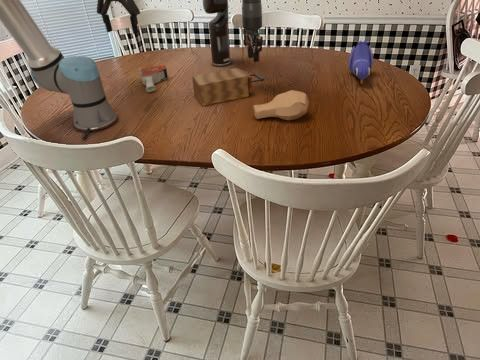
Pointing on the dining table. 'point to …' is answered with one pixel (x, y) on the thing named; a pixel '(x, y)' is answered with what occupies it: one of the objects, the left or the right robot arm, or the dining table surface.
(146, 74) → the tape dispenser
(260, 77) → the drawer
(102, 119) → the left robot arm
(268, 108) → the squash
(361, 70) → the toy
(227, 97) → the brown wooden block
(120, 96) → the dining table surface
